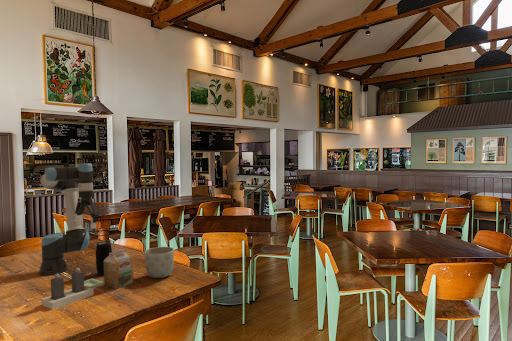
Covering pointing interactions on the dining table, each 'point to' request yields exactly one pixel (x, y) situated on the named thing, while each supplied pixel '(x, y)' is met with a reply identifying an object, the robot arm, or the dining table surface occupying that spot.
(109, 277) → the milk carton
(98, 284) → the tray
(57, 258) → the robot arm
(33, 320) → the dining table surface
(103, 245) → the portable speaker
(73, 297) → the beige flat rimmed piece
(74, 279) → the plug
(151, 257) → the planter
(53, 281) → the twin plug
